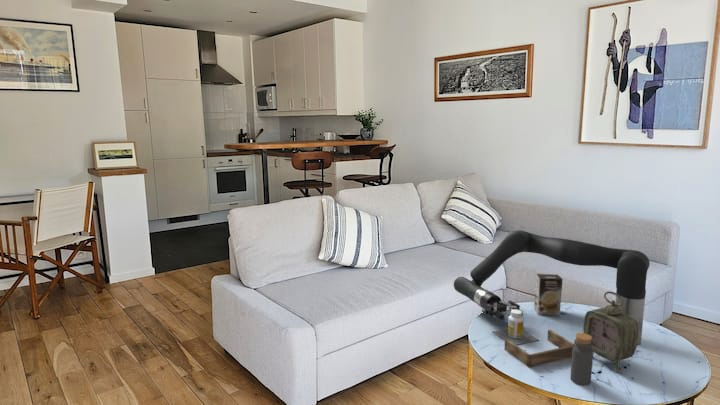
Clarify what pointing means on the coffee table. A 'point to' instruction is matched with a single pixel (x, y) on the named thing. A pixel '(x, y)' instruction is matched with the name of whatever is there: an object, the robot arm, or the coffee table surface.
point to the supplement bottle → (515, 324)
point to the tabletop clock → (611, 332)
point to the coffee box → (548, 294)
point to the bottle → (582, 359)
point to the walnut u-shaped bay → (545, 356)
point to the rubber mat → (524, 339)
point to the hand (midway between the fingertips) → (512, 315)
